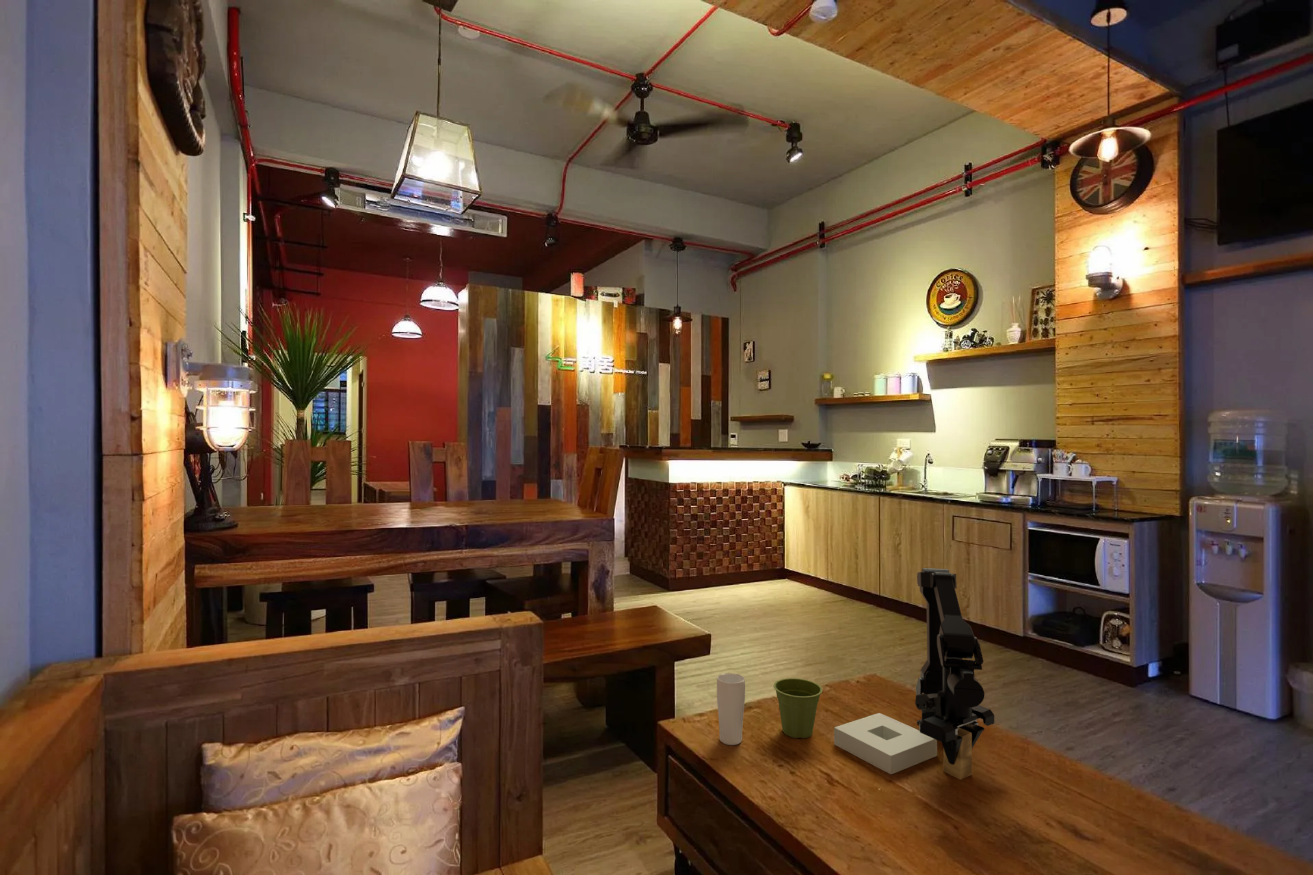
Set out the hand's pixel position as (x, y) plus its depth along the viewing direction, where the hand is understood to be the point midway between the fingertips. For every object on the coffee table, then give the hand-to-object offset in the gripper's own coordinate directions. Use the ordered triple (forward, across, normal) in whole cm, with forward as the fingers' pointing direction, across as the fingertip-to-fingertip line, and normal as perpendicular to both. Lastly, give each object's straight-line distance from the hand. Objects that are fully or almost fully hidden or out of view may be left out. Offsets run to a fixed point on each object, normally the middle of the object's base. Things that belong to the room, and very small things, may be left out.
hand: (957, 761), depth 136 cm
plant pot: (+3, +16, -32) cm, 36 cm away
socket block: (+2, +5, -15) cm, 16 cm away
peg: (+2, 0, 0) cm, 2 cm away
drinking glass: (+3, +33, -37) cm, 50 cm away
